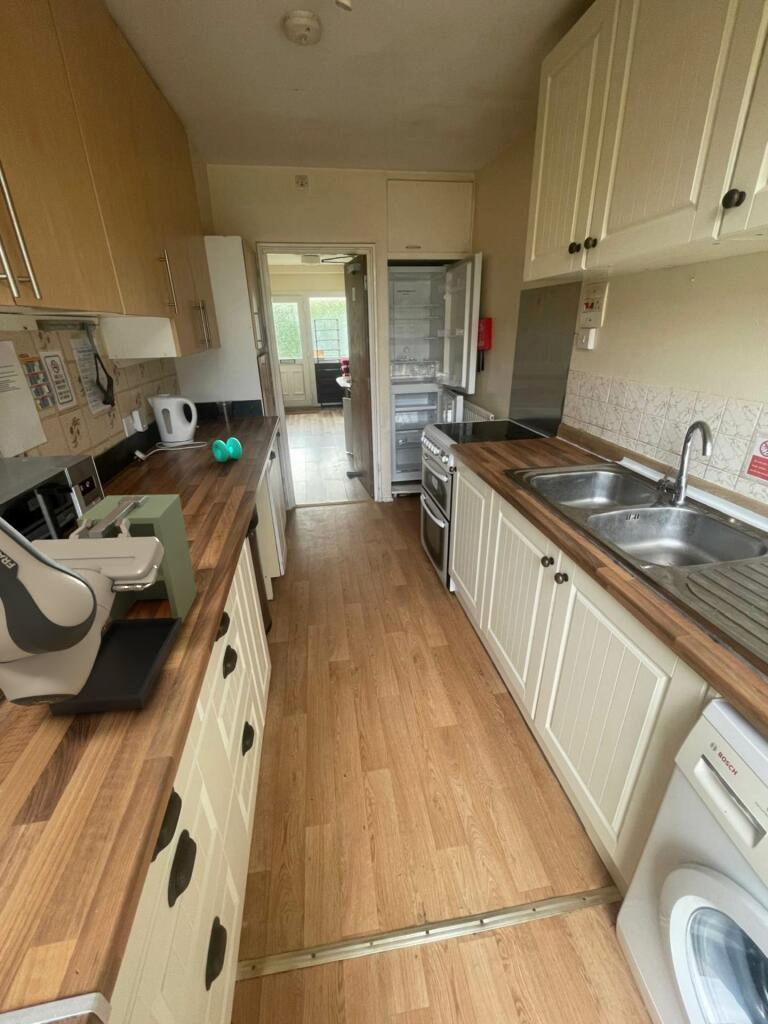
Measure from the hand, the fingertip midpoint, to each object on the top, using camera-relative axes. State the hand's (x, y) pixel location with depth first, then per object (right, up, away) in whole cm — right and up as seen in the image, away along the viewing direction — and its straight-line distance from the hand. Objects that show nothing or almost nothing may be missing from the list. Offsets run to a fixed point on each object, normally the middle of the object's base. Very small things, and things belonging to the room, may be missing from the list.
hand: (107, 520), depth 74 cm
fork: (0, 0, +3) cm, 3 cm away
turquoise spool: (-24, +25, +123) cm, 128 cm away
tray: (+1, -27, +4) cm, 27 cm away
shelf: (-2, -20, +19) cm, 28 cm away
